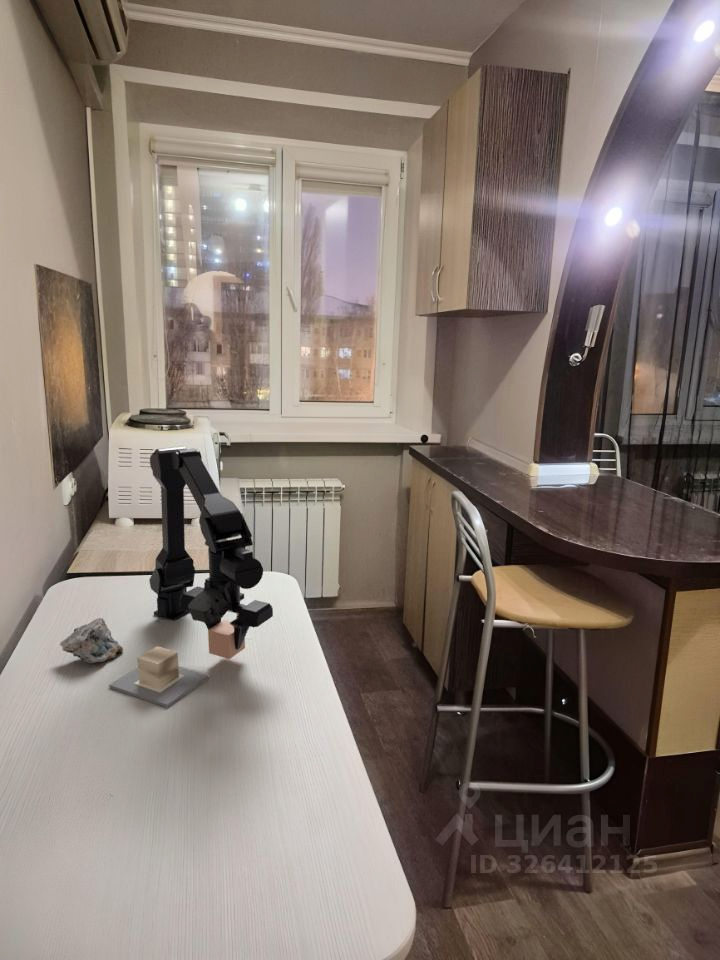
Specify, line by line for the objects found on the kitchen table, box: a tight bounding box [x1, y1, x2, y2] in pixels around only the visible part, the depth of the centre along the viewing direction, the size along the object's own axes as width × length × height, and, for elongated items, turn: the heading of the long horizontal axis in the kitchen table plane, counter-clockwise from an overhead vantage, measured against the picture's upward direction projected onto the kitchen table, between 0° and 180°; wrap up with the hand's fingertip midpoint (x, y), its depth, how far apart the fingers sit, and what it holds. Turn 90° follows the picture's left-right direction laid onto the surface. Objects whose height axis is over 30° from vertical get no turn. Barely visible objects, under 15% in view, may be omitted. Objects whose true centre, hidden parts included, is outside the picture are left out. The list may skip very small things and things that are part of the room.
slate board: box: [108, 665, 209, 709], centre depth 118 cm, size 11×14×1 cm
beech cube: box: [137, 646, 179, 689], centre depth 117 cm, size 5×5×5 cm
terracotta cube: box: [207, 619, 246, 660], centre depth 125 cm, size 5×5×5 cm
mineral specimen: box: [59, 617, 124, 664], centre depth 127 cm, size 10×8×10 cm
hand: (227, 645), depth 126 cm, fingers closed on terracotta cube, 5 cm apart
